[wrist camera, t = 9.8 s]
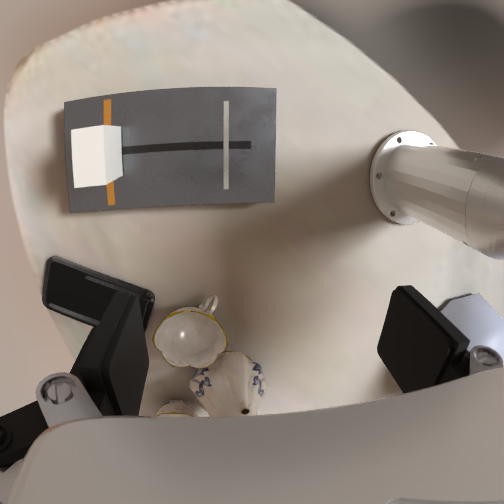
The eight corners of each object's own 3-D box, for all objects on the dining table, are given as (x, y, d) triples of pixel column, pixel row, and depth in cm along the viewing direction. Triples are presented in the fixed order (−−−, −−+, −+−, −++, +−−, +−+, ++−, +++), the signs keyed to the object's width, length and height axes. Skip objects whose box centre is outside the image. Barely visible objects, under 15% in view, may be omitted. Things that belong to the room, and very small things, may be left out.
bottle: (425, 389, 56) (471, 448, 38) (394, 348, 48) (454, 424, 31) (489, 326, 53) (543, 373, 36) (472, 270, 46) (547, 321, 28)
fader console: (270, 92, 32) (276, 88, 29) (268, 196, 36) (274, 202, 33) (74, 104, 28) (64, 102, 25) (79, 206, 33) (70, 213, 30)
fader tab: (121, 126, 27) (103, 125, 22) (122, 175, 29) (106, 184, 24) (93, 129, 27) (71, 129, 22) (95, 178, 29) (74, 188, 23)
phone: (141, 343, 39) (41, 305, 35) (142, 338, 40) (44, 301, 36) (156, 295, 37) (47, 254, 33) (157, 290, 38) (51, 251, 34)
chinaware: (153, 275, 39) (111, 357, 23) (283, 290, 40) (310, 378, 25) (158, 418, 48) (142, 496, 33) (252, 427, 50) (258, 507, 34)
